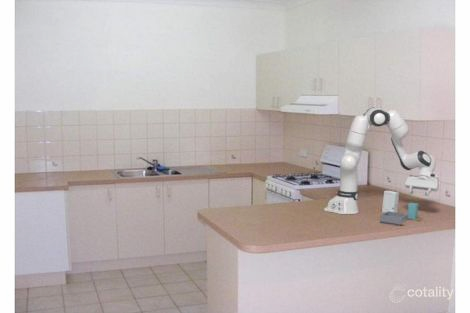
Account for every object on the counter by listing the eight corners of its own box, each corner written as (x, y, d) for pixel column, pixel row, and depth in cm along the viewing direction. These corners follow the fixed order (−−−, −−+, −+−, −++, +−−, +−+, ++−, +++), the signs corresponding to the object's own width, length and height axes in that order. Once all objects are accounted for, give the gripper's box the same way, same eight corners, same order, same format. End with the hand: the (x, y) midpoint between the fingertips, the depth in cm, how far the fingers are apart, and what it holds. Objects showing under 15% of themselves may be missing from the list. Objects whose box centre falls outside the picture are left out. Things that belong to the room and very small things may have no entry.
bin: (379, 223, 317) (380, 214, 316) (387, 219, 327) (387, 211, 326) (400, 226, 309) (401, 218, 309) (407, 222, 319) (408, 214, 319)
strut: (407, 218, 324) (408, 203, 323) (410, 216, 327) (410, 202, 326) (414, 219, 321) (415, 204, 320) (417, 218, 325) (418, 203, 324)
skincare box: (381, 213, 341) (382, 191, 339) (385, 212, 346) (387, 190, 344) (394, 216, 336) (395, 193, 334) (398, 214, 340) (399, 191, 339)
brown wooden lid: (399, 220, 323) (399, 213, 323) (405, 217, 333) (406, 209, 332) (419, 223, 316) (419, 215, 316) (425, 220, 326) (425, 212, 325)
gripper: (407, 172, 342) (401, 189, 335) (439, 175, 330) (434, 193, 323) (409, 178, 346) (403, 195, 339) (441, 181, 334) (436, 199, 327)
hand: (418, 194), depth 331 cm, fingers open, 8 cm apart
